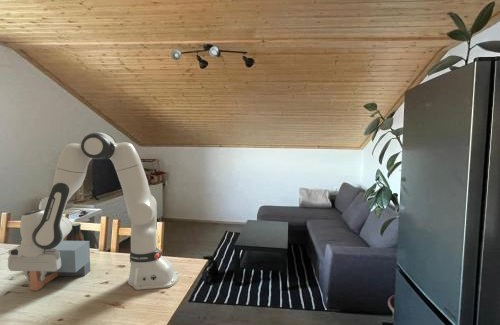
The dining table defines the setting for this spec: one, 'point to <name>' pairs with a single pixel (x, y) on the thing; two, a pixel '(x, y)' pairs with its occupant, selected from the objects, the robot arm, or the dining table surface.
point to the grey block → (73, 258)
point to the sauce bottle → (76, 233)
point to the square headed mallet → (34, 279)
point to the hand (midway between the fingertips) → (36, 280)
